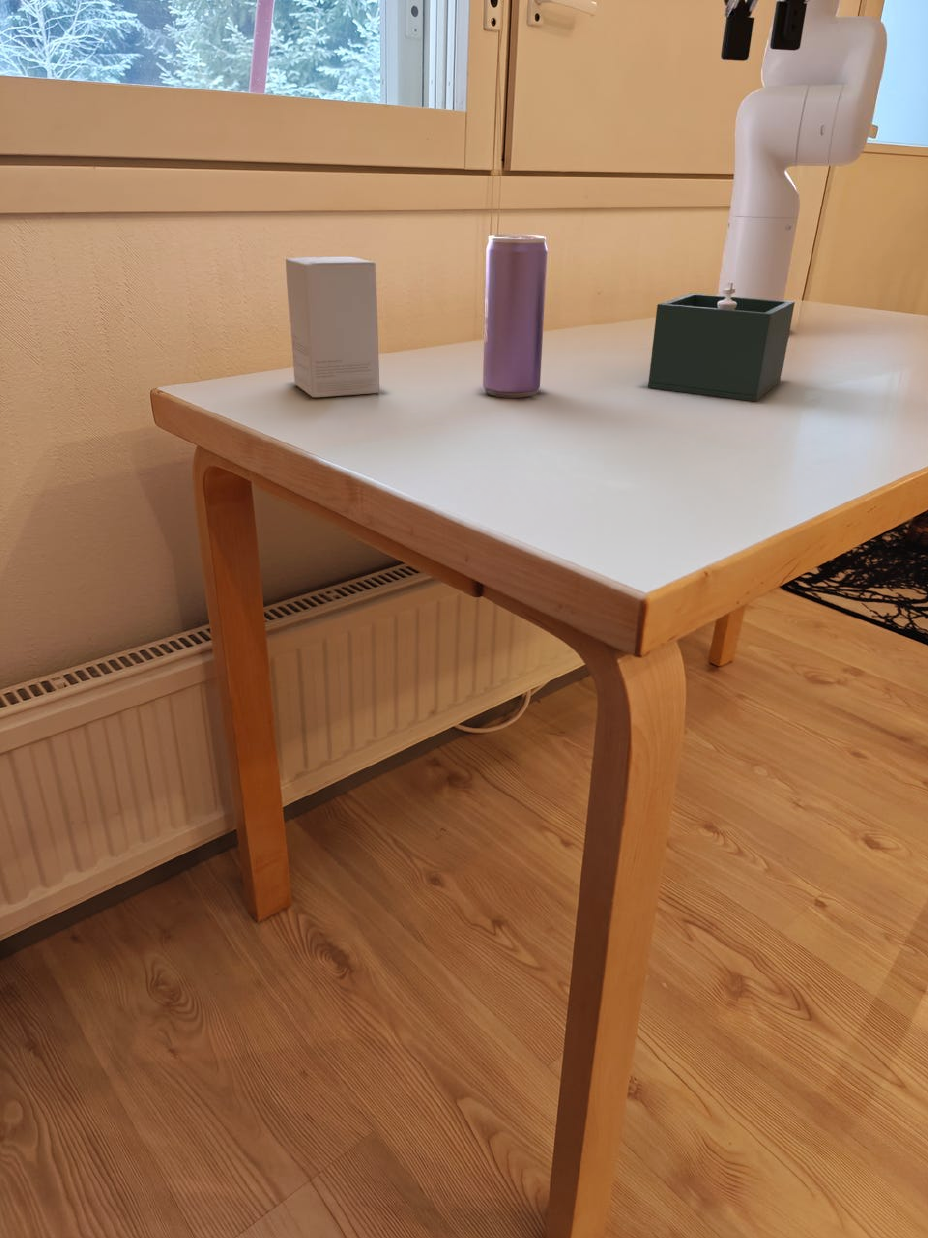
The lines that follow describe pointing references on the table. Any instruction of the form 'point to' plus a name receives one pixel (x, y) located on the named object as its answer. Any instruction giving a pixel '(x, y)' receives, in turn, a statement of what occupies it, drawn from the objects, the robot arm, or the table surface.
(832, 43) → the robot arm
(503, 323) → the beverage can
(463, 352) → the table surface
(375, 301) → the white packaging box
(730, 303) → the chess piece
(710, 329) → the bin
